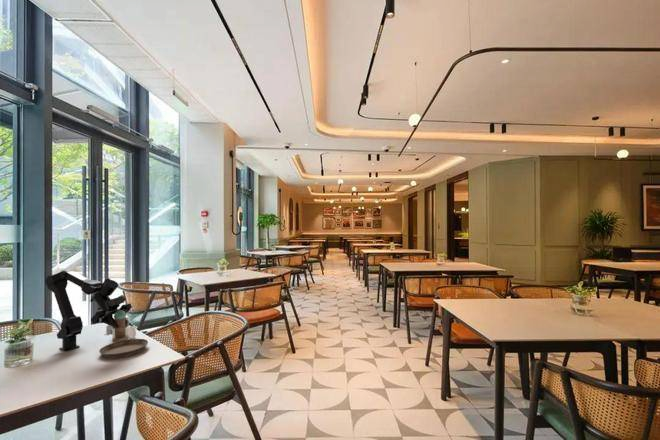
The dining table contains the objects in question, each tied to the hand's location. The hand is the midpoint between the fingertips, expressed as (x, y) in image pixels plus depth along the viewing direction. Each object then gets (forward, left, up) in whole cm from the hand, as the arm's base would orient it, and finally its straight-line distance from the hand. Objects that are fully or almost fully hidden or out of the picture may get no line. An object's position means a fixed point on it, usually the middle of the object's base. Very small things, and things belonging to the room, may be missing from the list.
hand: (122, 325), depth 164 cm
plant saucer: (-2, +2, -14) cm, 14 cm away
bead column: (-1, 0, -7) cm, 7 cm away
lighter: (-41, +18, -14) cm, 47 cm away
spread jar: (-23, +14, -14) cm, 30 cm away
